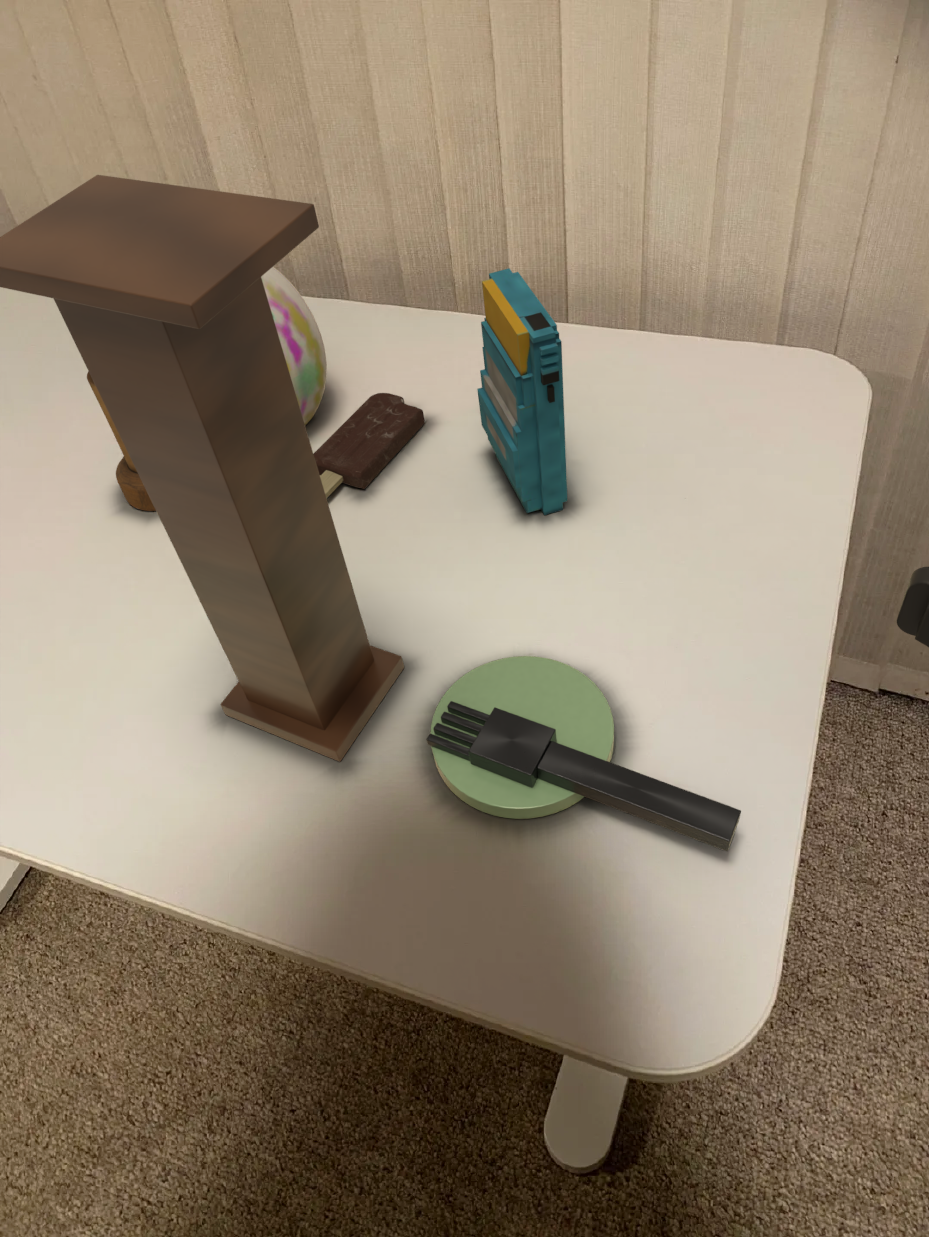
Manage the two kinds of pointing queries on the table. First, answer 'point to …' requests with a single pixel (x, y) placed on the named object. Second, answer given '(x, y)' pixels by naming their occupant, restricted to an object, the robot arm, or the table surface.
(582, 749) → the plate
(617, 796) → the fork
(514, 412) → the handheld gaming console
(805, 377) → the table surface
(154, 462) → the stand
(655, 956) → the table surface
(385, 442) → the ice cream bar
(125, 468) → the mortar and pestle
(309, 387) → the decorative egg
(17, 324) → the table surface
